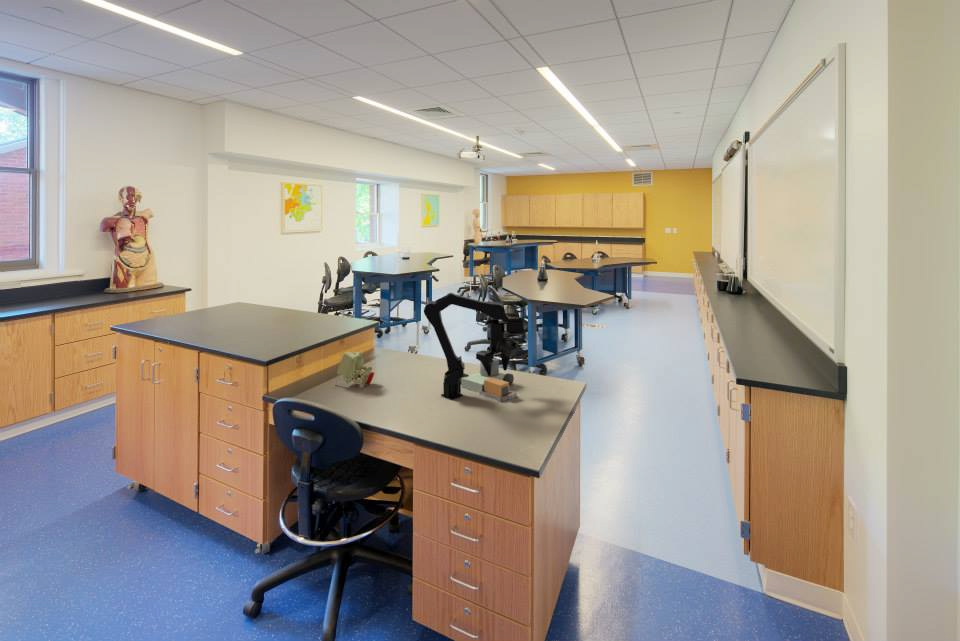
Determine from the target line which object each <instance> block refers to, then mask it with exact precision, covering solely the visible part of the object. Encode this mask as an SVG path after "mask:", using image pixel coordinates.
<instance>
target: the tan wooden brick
mask: <svg viewBox="0 0 960 641" xmlns="http://www.w3.org/2000/svg"><path fill="white" fill-rule="evenodd" d="M509 390H510V386H509V382H506V381H503V380H499V379H496V378H493V377H492V378H489V379H486V380H484V392H487V393H490V394H493V395H496V396H499V397H503V396H506V395H508V394H509Z"/></svg>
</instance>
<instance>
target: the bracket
mask: <svg viewBox="0 0 960 641" xmlns="http://www.w3.org/2000/svg"><path fill="white" fill-rule="evenodd" d="M478 394H479V396H481V395H483V396H482V397H484V396H485V398H487V397H488V399H490V398H491V399H490V400H493V399H494V400H495V401H496V400H497V402H499V401H500V402H499V403H503V402H505V400H506V401H507V399H508V400H511V399H513V398H515V396H516V397H517V394H518V392H515V391H512V390H510V389H509V394H508V395H506V396H503V397H499V396H496V395H493V394H490V393H487V392H484V391H479V393H478ZM512 397H513V398H512ZM510 398H511V399H510ZM502 401H503V402H502Z"/></svg>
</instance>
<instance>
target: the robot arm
mask: <svg viewBox="0 0 960 641" xmlns="http://www.w3.org/2000/svg"><path fill="white" fill-rule="evenodd" d="M451 305H454V306H458V307H461V308H464V309H468V310H473V311H477V312H480V313H483V314H484V315H485V316H488V318H487V319H486V320H485V321H484V323H485V325H489V336H487V340H488V341H489V346H488V347H487V350H485V349H483V350H480V351H477V352H476V354H475V359H476V360H478V362H480V361H481V363H482V364H483V366H484V368H485V370H486V372H487V374H488V376H491V364H492V362H493V361H494V360H492V359H493V358H494V359H495V357H494V356H497V355H500V358H501V365H502V369H503V371H505V372H506V371H507V369H508V366H509V364H510V361H511V358H513V356H516V354H517V353H518V351H519V342H517V341H513V342H508V338H507V337H506V336H505V332H506V333H508V335H514V336H515V335H518V336H519V335H524V333H525V327H524V319H523V317H522V316H519V317H509V315H508V314H507V313H506V310H505V307H504V305H503V304H502V303H501V302H499V301H483V300H482V301H481V300H478V299H475V298H470V297H467V296H463V295H458V294H455V293H453V292H449V293H447V294H445V295H444V296H442V297H439V298H438V299H436V300H434V301H433V300H431V301H428V302H427V303H426V304H425V306H424V308H423V313H424V316H425V318H426V319H427V320H428V322H429V323H430V325H431V326H432V328H433V329H434V331H435V334H436V336H437V339H438V341H439V344H440V347H441V349H442V352H443V354H444V356H445V359H446V364H447V371H446V372H445V373H444V375H443V376H444V377H443V384H442V385H443V387H442V388H443V393H442V394H440V396H441V397H443V398H445V399H448V400H454V399H458V398H461V397H463V396H464V394H463V393H461V391H462V387H461V383H460V380H459V379H461V378H462V377H463V375H464V374H465V372H464V371H465V370H466V369H465V366H466V365H465V363H464V362H463V359H462V358H463V357H462V356H461V355H460V356H457V354H456V352H455V351H454V350H455V349H454V347H453V345H452V342H451V341H450V340H451V339H450V337H449V335H448V333H447V331H446V328H445V325H444V323H443V317H442V311H444V310H445V309H447V308H448V307H450V306H451Z"/></svg>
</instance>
